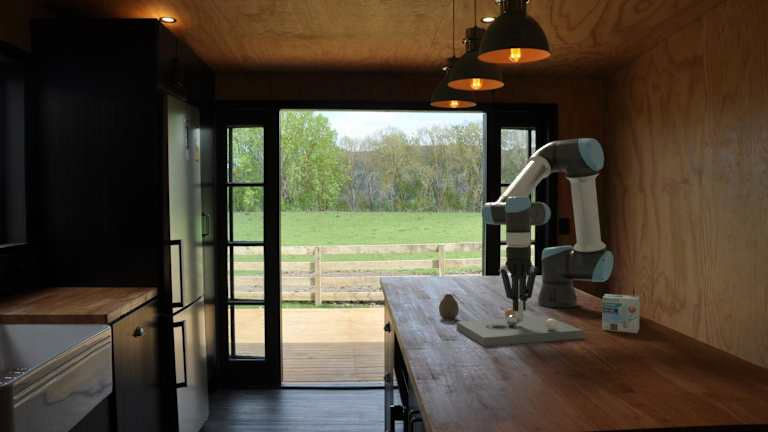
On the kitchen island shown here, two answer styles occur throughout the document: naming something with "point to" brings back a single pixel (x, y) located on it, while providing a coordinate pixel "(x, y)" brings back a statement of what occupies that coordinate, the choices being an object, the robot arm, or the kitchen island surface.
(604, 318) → the light bulb box
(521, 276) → the robot arm
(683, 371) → the kitchen island surface
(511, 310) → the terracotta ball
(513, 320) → the steel ball
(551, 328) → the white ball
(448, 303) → the vase
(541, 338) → the plate
